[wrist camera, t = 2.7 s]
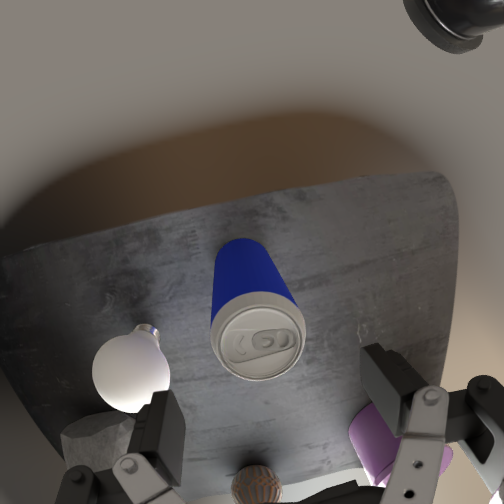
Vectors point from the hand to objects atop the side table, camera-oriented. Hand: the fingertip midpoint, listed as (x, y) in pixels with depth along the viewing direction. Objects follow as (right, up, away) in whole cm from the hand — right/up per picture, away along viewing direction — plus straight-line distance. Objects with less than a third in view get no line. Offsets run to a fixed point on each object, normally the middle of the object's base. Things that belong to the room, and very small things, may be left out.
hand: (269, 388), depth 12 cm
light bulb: (-11, -3, +19) cm, 22 cm away
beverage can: (-2, +5, +18) cm, 19 cm away
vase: (0, -26, +26) cm, 37 cm away
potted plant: (-17, -19, +23) cm, 34 cm away
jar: (+17, -18, +25) cm, 36 cm away
